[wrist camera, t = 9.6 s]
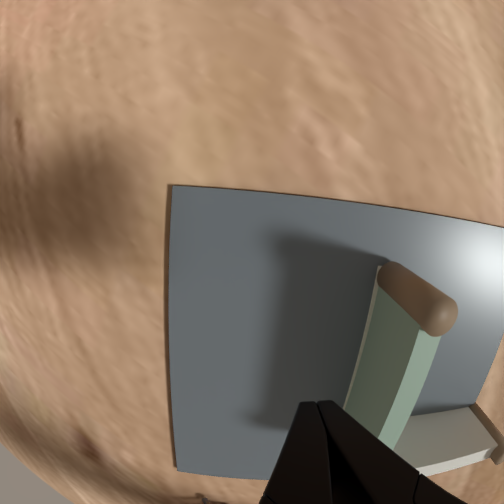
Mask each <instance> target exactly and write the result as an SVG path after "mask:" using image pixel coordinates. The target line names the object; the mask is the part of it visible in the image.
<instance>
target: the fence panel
mask: <svg viewBox="0 0 504 504" xmlns="http://www.w3.org/2000/svg"><path fill="white" fill-rule="evenodd" d="M377 283H378V291H377V296H376V300H375V304H374V309H373V313H372V317H371V321H370V325H369V329H368V333H367V337H366V341H365V344H364V348H363V352H362V355H361V359H360V362H359V366H358V369H357V372H356V376H355V379H354V382H353V385H352V389H351V392H350V395H349V398H348V401H347V404H346V407H345V411H346V412H347V413H348V414H349V415H351V416H352V417H353V418H354V419H355V420H356V421H358V422H359V423H360V424H361V425H362V426H364V427H365V428H366V429H367V430H368V431H370V432H371V433H372V434H373V435H374V436H376V437H377V438H378V439H379V440H380V441H382V442H383V443H384V444H385V445H387V446H388V447H389V448H390V449H392V450H393V449H394V447H395V445H396V443H397V441H398V439H399V437H400V435H401V433H402V431H403V429H404V427H405V425H406V423H407V421H408V419H409V417H410V415H411V412H412V410H413V408H414V406H415V403H416V401H417V399H418V397H419V394H420V392H421V389H422V387H423V385H424V382H425V380H426V377H427V375H428V372H429V369H430V367H431V364H432V361H433V359H434V356H435V353H436V350H437V347H438V344H439V341H440V338H441V336H442V335H444V334H445V333H447V332H448V331H449V330H450V329H451V328H452V327H453V325H454V324H455V322H456V319H457V316H458V306H457V303H456V302H455V301H454V300H453V299H452V298H451V297H449V296H448V295H446V294H445V293H443V292H442V291H440V290H439V289H437V288H436V287H434V286H433V285H431V284H430V283H428V282H427V281H425V280H424V279H422V278H421V277H419V276H418V275H416V274H415V273H413V272H412V271H410V270H409V269H407V268H406V267H404V266H403V265H401V264H400V263H398V262H394V261H391V262H388V263H386V264H384V265H383V266H382V267H381V268H380V270H379V271H378V274H377Z"/></svg>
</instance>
